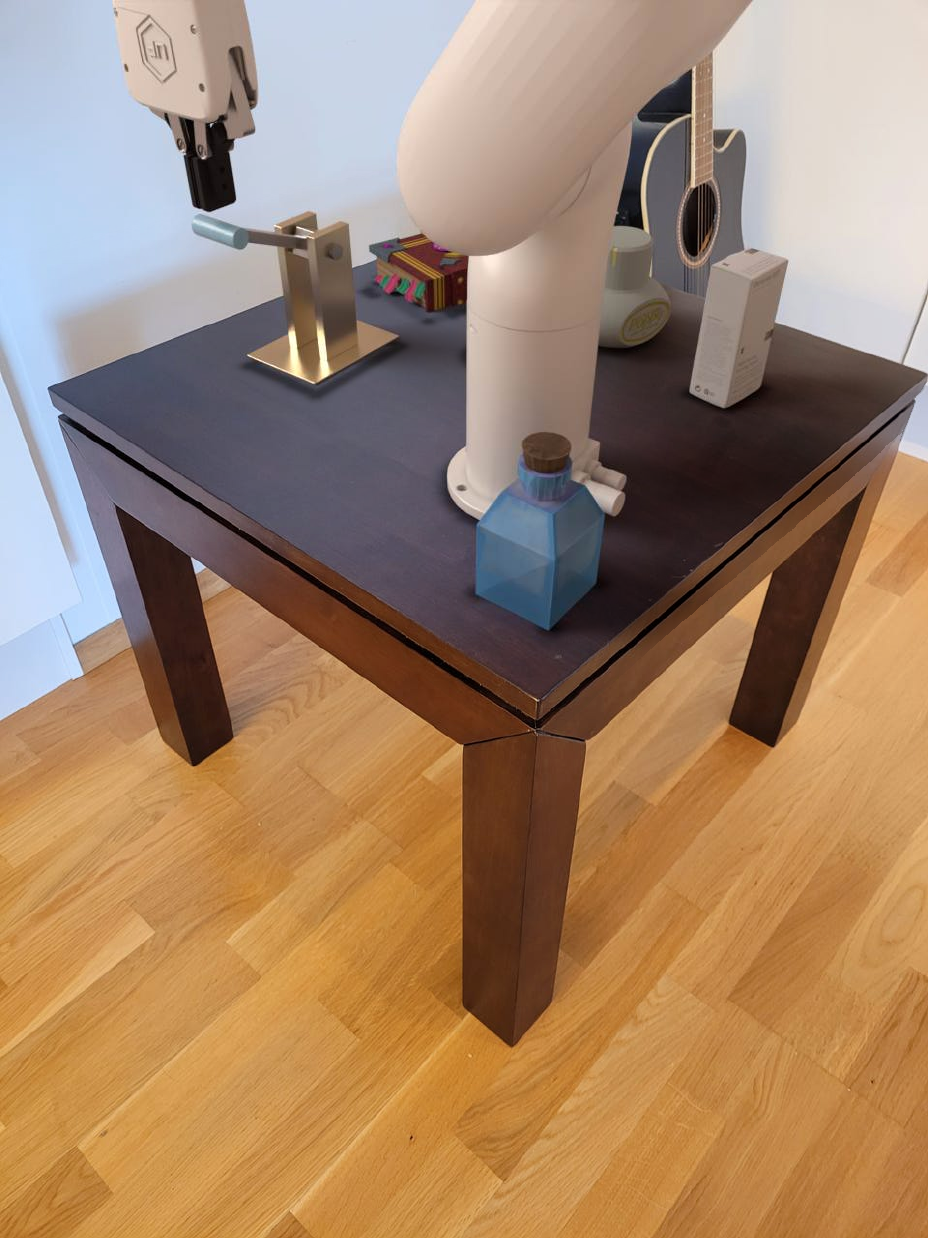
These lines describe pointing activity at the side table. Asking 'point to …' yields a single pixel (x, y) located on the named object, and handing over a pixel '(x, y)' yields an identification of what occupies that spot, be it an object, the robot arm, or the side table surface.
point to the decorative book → (422, 271)
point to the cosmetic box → (737, 326)
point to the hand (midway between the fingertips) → (215, 204)
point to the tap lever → (250, 235)
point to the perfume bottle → (540, 536)
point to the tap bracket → (319, 307)
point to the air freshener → (631, 292)
